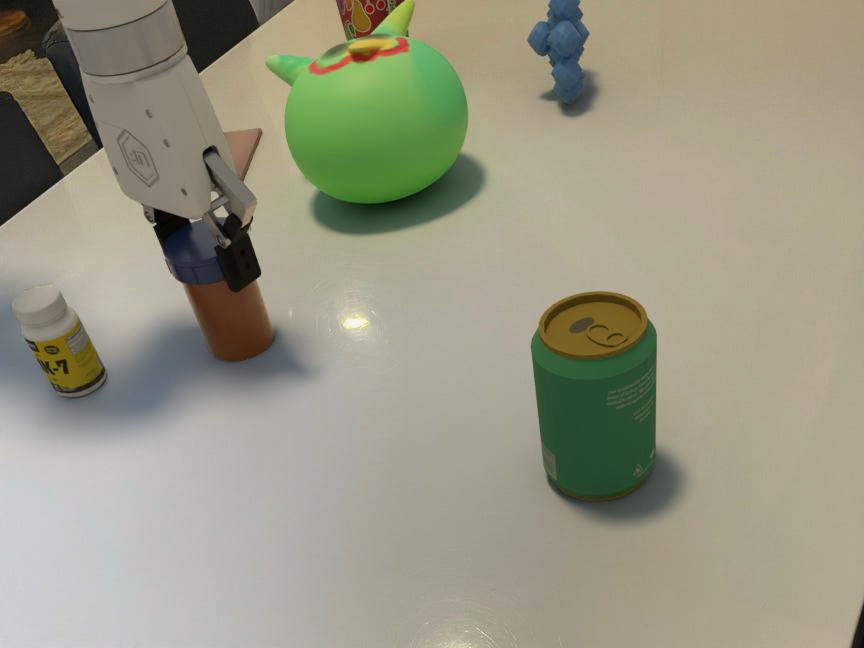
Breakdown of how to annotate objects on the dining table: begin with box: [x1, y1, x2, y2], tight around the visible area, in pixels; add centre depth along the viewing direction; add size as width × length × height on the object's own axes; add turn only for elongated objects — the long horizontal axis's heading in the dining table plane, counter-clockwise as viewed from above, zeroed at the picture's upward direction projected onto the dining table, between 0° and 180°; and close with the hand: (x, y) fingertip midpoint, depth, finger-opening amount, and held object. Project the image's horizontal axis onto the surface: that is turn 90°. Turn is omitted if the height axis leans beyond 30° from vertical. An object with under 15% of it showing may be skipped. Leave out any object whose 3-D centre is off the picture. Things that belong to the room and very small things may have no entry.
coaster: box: [223, 127, 263, 183], centre depth 109 cm, size 12×12×1 cm
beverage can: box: [530, 290, 658, 502], centre depth 65 cm, size 8×8×12 cm
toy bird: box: [264, 0, 469, 205], centre depth 94 cm, size 18×17×15 cm
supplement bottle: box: [11, 284, 107, 398], centre depth 82 cm, size 5×5×8 cm
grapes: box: [526, 0, 590, 105], centre depth 103 cm, size 12×7×12 cm, turn 175°
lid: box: [161, 216, 227, 285], centre depth 79 cm, size 7×7×2 cm
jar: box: [180, 279, 276, 362], centre depth 82 cm, size 6×6×9 cm
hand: (215, 271), depth 81 cm, fingers closed on lid, 6 cm apart
